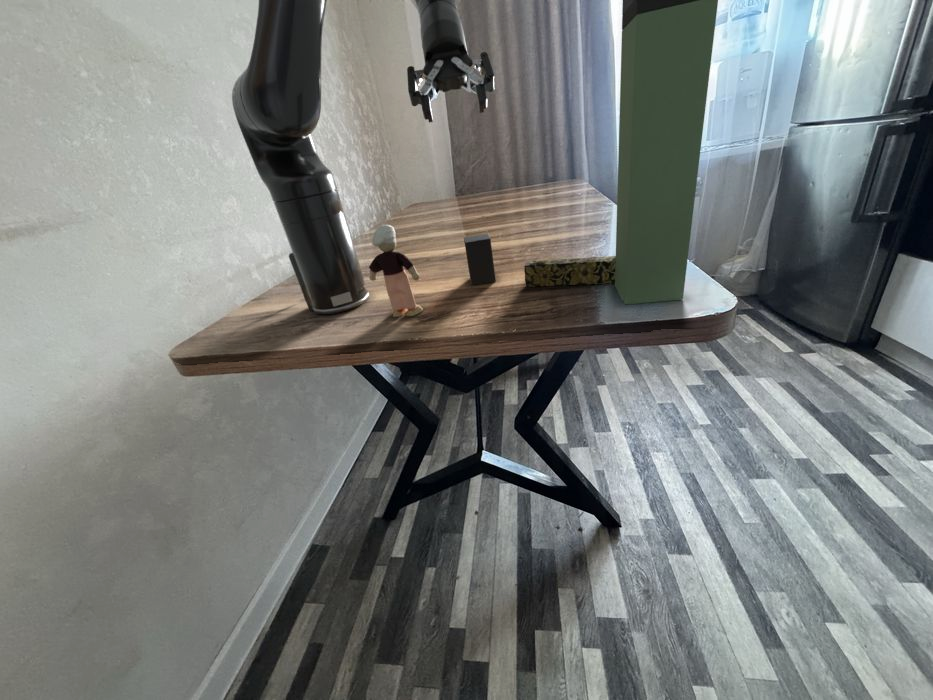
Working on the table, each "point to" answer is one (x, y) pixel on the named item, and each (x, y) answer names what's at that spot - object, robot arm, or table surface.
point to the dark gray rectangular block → (480, 259)
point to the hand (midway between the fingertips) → (455, 113)
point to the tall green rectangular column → (660, 142)
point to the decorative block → (570, 271)
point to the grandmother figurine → (394, 272)
